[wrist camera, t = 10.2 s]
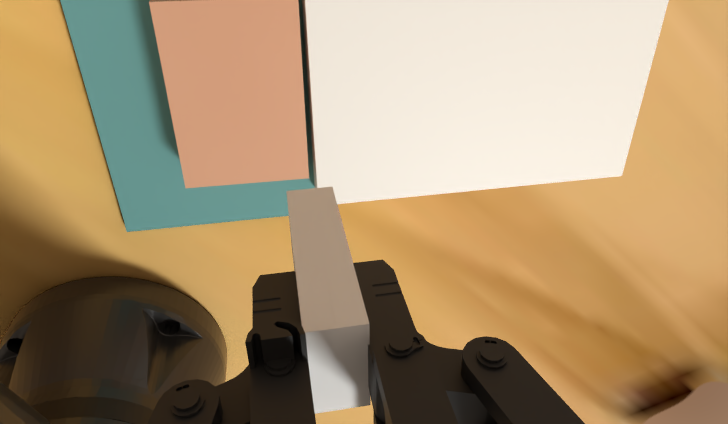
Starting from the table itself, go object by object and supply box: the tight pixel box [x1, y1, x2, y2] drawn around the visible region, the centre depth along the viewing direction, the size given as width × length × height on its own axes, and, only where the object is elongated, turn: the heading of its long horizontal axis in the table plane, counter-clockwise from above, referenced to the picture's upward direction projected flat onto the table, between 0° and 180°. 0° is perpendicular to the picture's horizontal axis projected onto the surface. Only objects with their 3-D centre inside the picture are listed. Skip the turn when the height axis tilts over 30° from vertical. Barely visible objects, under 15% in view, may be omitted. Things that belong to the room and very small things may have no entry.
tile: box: [149, 0, 309, 188], centre depth 30 cm, size 10×7×2 cm
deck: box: [302, 0, 669, 204], centre depth 32 cm, size 14×20×3 cm
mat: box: [60, 0, 315, 232], centre depth 31 cm, size 18×12×1 cm, turn 1°
